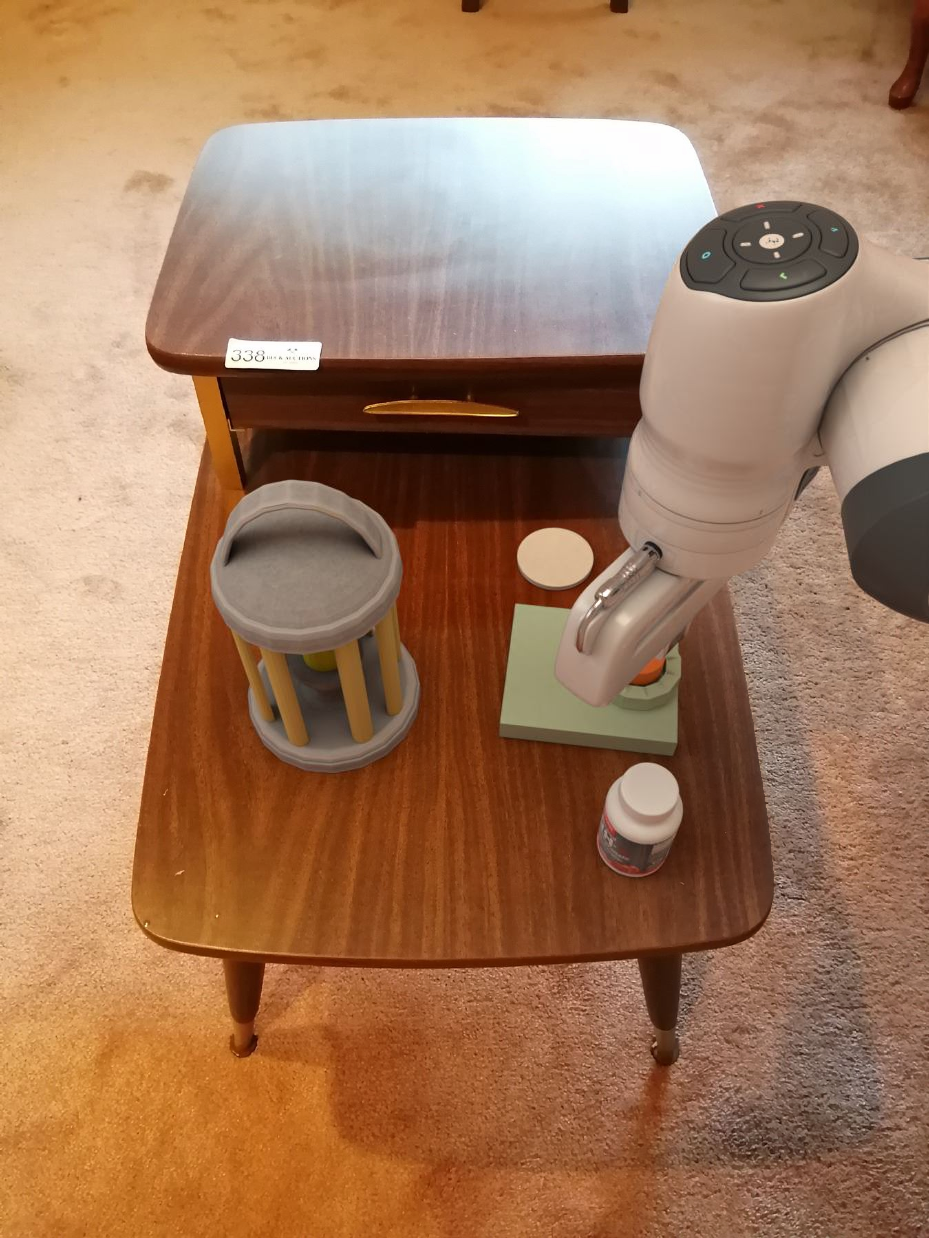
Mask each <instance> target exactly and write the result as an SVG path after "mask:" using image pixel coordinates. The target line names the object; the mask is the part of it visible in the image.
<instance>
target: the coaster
mask: <svg viewBox="0 0 929 1238" xmlns="http://www.w3.org/2000/svg"><path fill="white" fill-rule="evenodd" d="M516 555H517V556H516V564H517V567H518V571H519V572H520V574H521V575H522V576H523V578H524V579H525V580H527V581H528V582H529V583H531V584H532V585H533V586H535V587H537V588H540V589H544V590H548V591H565V590H569V589H573V588H575V587H578V586H579V585H581V584H582V583H583V582H585V580H587V579H588V577H589V576H590V575H591V573H592V570H593V566H594V552H593V549H592V547H591V546H590V544H589V542H588V541H587V540H586V539H585V538H584V537H582V536H581V535H580V534H579V533H576V532H574V531H573V530H570V529H566V528H561V527H546V528H542V529H538V530H535V531H534V532H532V533H530V534H529V535H527V536H526V537H525V538H524V539H523V540H522V541H521V543H520V544H519V546H518V548H517V554H516Z"/></svg>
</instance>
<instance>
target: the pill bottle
mask: <svg viewBox="0 0 929 1238" xmlns="http://www.w3.org/2000/svg"><path fill="white" fill-rule="evenodd" d="M606 794H607V795H606V797H605V801H604V806H603V809H602V814H601V818H600V822H599V825H598V830H597V835H596V845H597V850H598V852H599V855H600V858H601V859H602V860H603V862H604V863H605V864H606V865H607V866H608V867H609V868H610V869H611V870H613V871H614V872H616V873H617V874H619V875H623V876H626V877H629V878H642V877H643V878H644V877H645V876H648V875H649V876H650V875H651V874H653V873H655V872H656V871H658V870H659V869H660V868H661V867H662V865H663V864H664V863H665V861H666V859H667V857H668V854H669V852H670V850H671V847H672V845H673V843H674V839H675V837H676V835H677V832H678V830H679V828H680V826H681V823H682V820H683V815H684V806H683V805H684V804H683V801H682V798H681V795H680V786H679V783H678V781H677V779H676V778H675V776H674V775H673V773H672V772H671V771H670V770H668V769H667V768H666V767H664V766H662V765H660V764H657V763H654V762H639V763H637V764H634V765H632V766H630V767H629V768H628V769H627V770H626V771H625V772H624V774H623V775H622V776H620V777H619V778H617V779H616V780H615V781H614V782H613V783H612V785H611V786H610V788H609V789H608V792H607V793H606Z"/></svg>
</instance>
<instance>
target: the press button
mask: <svg viewBox="0 0 929 1238" xmlns="http://www.w3.org/2000/svg"><path fill="white" fill-rule="evenodd" d="M664 661H665V657H664V658H663V659H662V660H657V659H655V658H654V659H653V660H652V661H651V662H650V663H649V664H648V665H647V666H646V667H645V668H644V669H643V670H642V671H641V672H640V673H639V674H638V675H637V676H636V677H635V678H634V679H633V680H632V681H631V682H630V683H629V684H633V685H647V684H650V683H652V682H654V681H655V680H656V679H657V678H658V677H659V676H660V674H661V672H662V668H663V665H664Z"/></svg>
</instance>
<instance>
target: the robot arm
mask: <svg viewBox="0 0 929 1238" xmlns="http://www.w3.org/2000/svg"><path fill="white" fill-rule="evenodd" d="M644 355H645V356H644V361H643V365H642V370H641V375H640V382H639V402H640V409H641V413H642V416H641V418H640V420H639V421H638V423H637V425H636V427H635V429H634V430H633V432H632V435H631V438H630V441H629V445H628V451H627V456H626V461H625V462H626V463H625V468H624V474H623V478H622V485H621V490H620V498H619V502H618V510H617V511H618V512H617V514H618V523H619V527H620V529H621V532H622V534H623V536H624V539H625V540H626V541H627V543H628V544H629V547H628V548H627V549H626V550H624V551H623V552H622V553H621V554H620V555H619V556H618V557H617V558H615V560H614V561H613V562H612V563H610V564H609V565H608V566H607V567H606V568H605V570H603V571H602V572H601V573H600V574H599V575H598V576H597V577H595V578H594V580H592V582H590V583H589V585H588V586H586V587H585V589H583V591H582V593H580V595H579V596H578V597H577V599H576V601H575V602H574V604H573V605H572V607H571V608H570V609H571V611H570V613H569V616H568V618H567V621H566V624H565V627H564V630H563V634H562V637H561V641H560V645H559V649H558V653H557V658H556V662H555V668H554V674H555V677H556V679H557V680H558V681H559V683H560V684H561V685H563V686H564V687H565V688H566V689H567V690H569V691H570V692H571V693H572V694H574V695H575V696H576V697H578V698H579V699H581V700H582V701H584V702H585V703H587V704H589V705H591V706H593V707H599V708H602V707H606V706H608V705H609V704H610V703H611V702H612V701H613V700H614V699H615V698H616V697H617V696H618V695H619V694H620V693H621V692H622V691H623V690H624V688H625V687H626V686H627V685H628V684H629V683H630V682H631V681H632V680H633V679H634V678H635V677H636V676H637V675H638V674H639V673H640V672H641V671H642V670H643V669H644V668H645V667H646V666H647V665H648V664H649V663H650V662H651V661H652V660H653V659H654V658H655V659H657V660H662V659H663V658H664V657H665V656H666V655H667V654H668V653H669V652H670V651H671V650H672V649H673V648H674V646H675V645H676V644H677V643H678V644H679V642H680V641H682V639H684V637H685V636H687V634H688V633H689V630H690V627H691V624H692V621H693V620H694V618H695V617H696V616H697V614H698V613H699V612H701V610H702V609H703V608H704V607H705V606H706V605H707V604H709V602H710V601H711V600H712V598H714V597H715V596H716V595H717V594H718V593H719V592H720V590H722V588H723V587H724V586H725V585H726V584H728V582H729V581H730V580H731V579H733V577H735V576H739V575H741V574H744V573H745V572H747V571H749V570H751V569H753V568H755V567H756V566H758V564H760V563H761V562H762V561H763V560H764V559H765V558H767V556H768V554H769V553H770V552H771V550H772V549H773V546H774V544H775V541H776V539H777V537H778V534H779V531H780V528H781V527H782V526H784V524H785V523H786V521H787V520H788V518H789V517H790V515H791V514H792V512H793V510H794V509H795V507H796V505H797V502H798V501H799V499H800V497H801V495H802V493H803V492H804V491H805V489H806V488H807V487H808V486H809V484H810V483H811V482H812V481H813V480H814V479H815V478H816V476H817V475H818V473H819V472H820V471H821V469H822V468H823V467H828V469H829V472H830V475H831V479H832V483H833V485H834V488H835V492H836V494H837V497H838V500H839V504H840V518H841V524H842V529H843V535H844V540H845V545H846V551H847V556H848V561H849V567H850V572H851V575H852V579H853V580H854V582H855V583H856V585H857V586H858V588H859V589H860V590H861V591H862V592H863V593H865V594H866V595H867V596H869V597H870V598H871V599H874V600H875V601H876V602H878V603H880V604H881V605H883V606H884V607H887V608H888V609H890V610H892V611H893V612H896V613H898V614H900V615H902V616H904V617H907V618H910V619H912V620H915V621H917V622H921V623H923V624H927V625H929V256H928V257H927V256H926V257H909V256H905V255H902V254H898V253H895V252H892V251H890V250H887V249H885V248H883V247H881V246H879V245H878V244H875V243H873V242H872V241H870V240H869V239H867V238H865V236H863V235H862V234H861V233H860V232H859V231H858V230H857V228H856V227H855V226H854V225H853V224H852V222H850V220H848V219H847V218H846V217H844V216H843V215H842V214H840V213H838V212H836V211H834V210H832V209H831V208H828V207H826V206H825V207H824V206H822V205H819V204H816V203H811V202H807V201H800V200H783V199H782V200H769V201H768V200H767V201H761V202H755V203H750V204H746V205H742V206H739V207H735V208H733V209H730V210H728V211H726V212H724V213H722V214H719V215H718V216H716V217H714V218H713V219H711V220H710V221H708V222H707V223H706V224H704V225H703V226H702V227H701V228H700V229H699V230H698V231H697V232H696V233H695V234H694V235H693V236H692V237H691V238H690V240H689V241H688V242H687V243H686V244H685V246H684V247H683V249H682V250H681V251H680V252H679V255H678V256H677V258H676V260H675V261H674V263H673V265H672V267H671V269H670V272H669V274H668V276H667V279H666V282H665V284H664V287H663V289H662V292H661V295H660V298H659V301H658V305H657V307H656V311H655V315H654V318H653V322H652V326H651V329H650V333H649V337H648V342H647V346H646V351H645V354H644Z"/></svg>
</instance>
